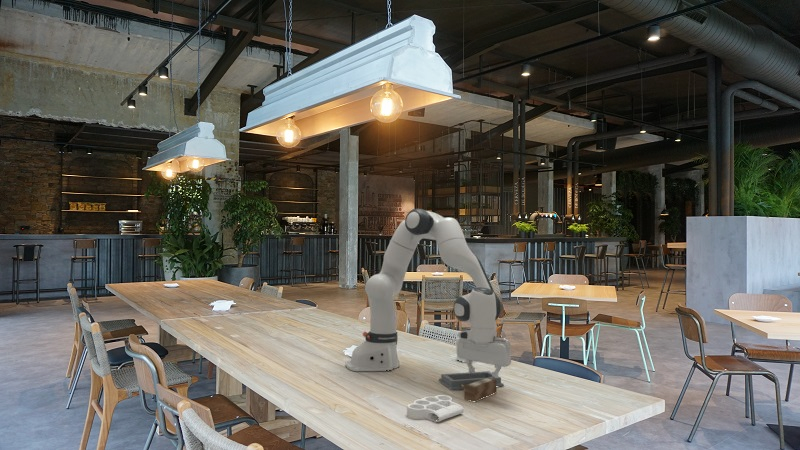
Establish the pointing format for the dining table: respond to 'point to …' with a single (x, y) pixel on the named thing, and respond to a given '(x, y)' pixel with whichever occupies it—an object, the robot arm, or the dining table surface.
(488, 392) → the frame block
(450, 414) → the light grey compartment holder
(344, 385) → the dining table surface
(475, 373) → the dark grey rectangular tray
